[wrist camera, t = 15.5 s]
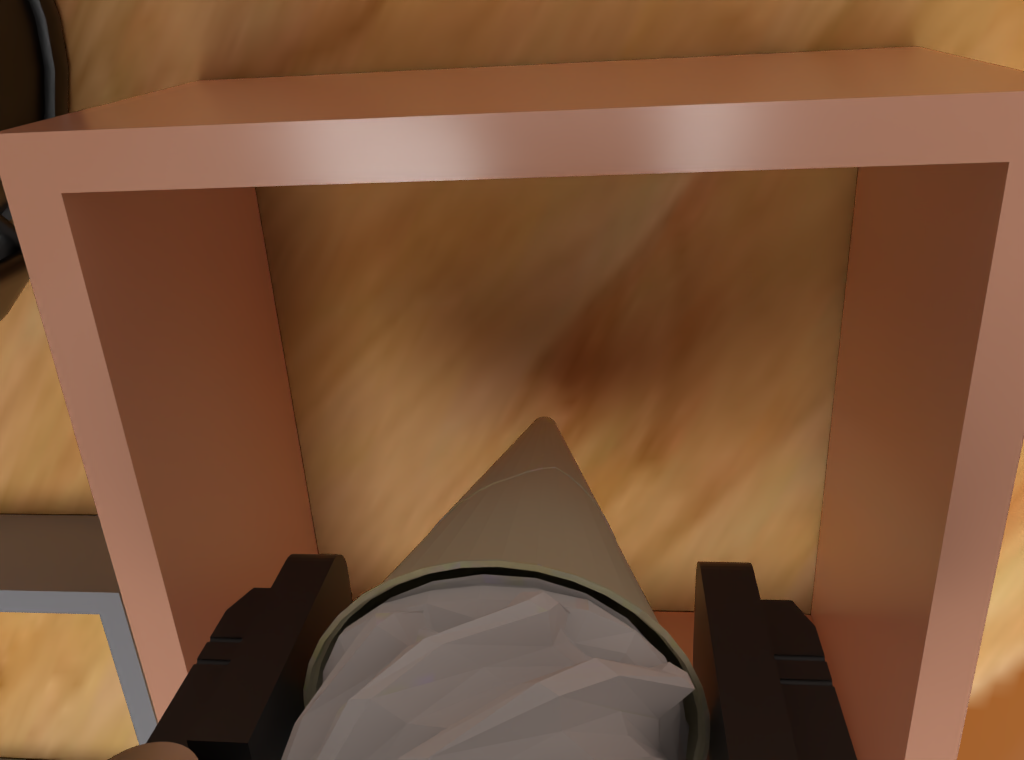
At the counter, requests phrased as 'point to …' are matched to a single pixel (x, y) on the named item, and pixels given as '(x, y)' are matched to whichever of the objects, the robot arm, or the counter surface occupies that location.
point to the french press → (26, 106)
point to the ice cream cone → (506, 638)
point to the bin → (528, 154)
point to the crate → (73, 591)
